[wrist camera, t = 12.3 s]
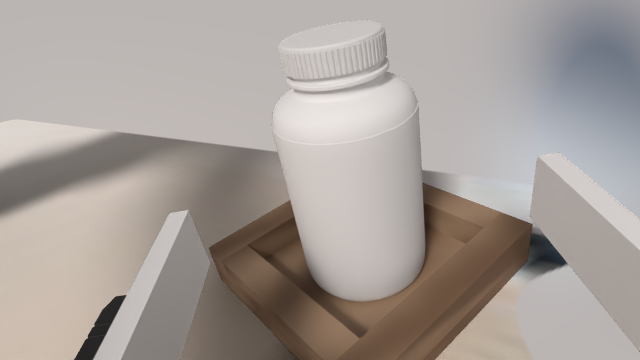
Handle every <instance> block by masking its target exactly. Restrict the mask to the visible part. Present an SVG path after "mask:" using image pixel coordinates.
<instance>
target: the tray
mask: <svg viewBox="0 0 640 360" xmlns="http://www.w3.org/2000/svg"><path fill="white" fill-rule="evenodd" d="M422 188H423V208H424V228H425V259H424V264H423V267H422V269H421V271H420V273H419V275H418V276H417V278H416V279H415V280H414V281H413V282H412V283H411V284H410V285H409V286H408V287H407V288H405V289H404V290H402V291H401V292H399V293H397V294H395V295H392V296H390V297H387V298H384V299H380V300H374V301H350V300H345V299H341V298H338V297H336V296H333V295H331V294H330V293H328V292H326V291H325V290H324V289H322V288H321V287H320V286H319V285H318V284H317V283H316V282H315V280H314V279H313V277H312V275H311V273H310V271H309V268H308V266H307V263H306V259H305V255H304V251H303V247H302V243H301V239H300V236H299V232H298V228H297V224H296V220H295V216H294V212H293V209H292V205H291V201H288V202H286V203H285V204H283V205H281V206H279V207H278V208H276V209H274V210H273V211H271V212H269V213H267V214H266V215H264V216H262V217H261V218H259V219H257V220H255V221H254V222H252V223H250V224H249V225H247V226H245V227H243V228H242V229H240V230H238V231H237V232H235V233H233V234H231V235H230V236H228V237H226V238H225V239H223V240H221V241H219V242H218V243H216V244H214V245H213V246H211V247H209V250H210V252H211V255H212V257H213V260H214V262H215V265H216V267H217V270H218V272H219V275H220V277H221V279H222V280H223V281H224V282H225V283H226V284H227V285H228V286H229V287H230V288H231V290H232V291H233V292H234V293H235V294H236V295H237V296H238V297H239V298H240V299H241V300H242V301H243V302H244V303H245V304H246V305H247V306H248V307H249V308H250V309H251V311H252V312H253V313H254V314H255V315H256V316H257V317H258V318H259V319H260V320H261V321H262V322H263V323H264V324H265V325H266V326H267V327H268V328H269V329H270V330H271V332H272V333H273V334H274V335H275V336H276V337H277V338H278V339H279V340H280V341H281V342H282V343H283V344H284V345H285V346H286V347H287V348H288V349H289V350H290V351H291V353H292V354H293V355H294V356H295V357H296V358H297V359H298V360H435V359H436V358H437V357H438V356H439V355H440V354H441V352H442V351H443V350H444V349H445V348H446V347H447V346H448V345H449V344H450V343H451V342H452V341H453V340H454V339H455V338H456V336H457V335H458V334H459V333H460V332H461V331H462V330H463V329H464V328H465V327H466V326H467V325H468V324H469V323H470V322H471V320H472V319H473V318H474V317H475V316H476V315H477V314H478V313H479V312H480V311H481V310H482V309H483V308H484V307H485V306H486V304H487V303H488V302H489V301H490V300H491V299H492V298H493V297H494V296H495V295H496V294H497V293H498V292H499V291H500V290H501V288H502V287H503V286H504V285H505V284H506V283H507V282H508V281H509V280H510V279H511V278H512V277H513V276H514V275H515V274H516V272H517V271H518V270H519V269H520V268H521V267H522V266H523V265H524V264H525V263H526V262H527V261H528V254H529V247H530V239H531V232H532V224H531V223H528V222H525V221H523V220H520V219H517V218H515V217H512V216H509V215H507V214H504V213H501V212H499V211H496V210H493V209H491V208H488V207H485V206H483V205H480V204H478V203H475V202H472V201H470V200H467V199H464V198H462V197H459V196H456V195H454V194H451V193H448V192H446V191H443V190H440V189H438V188H435V187H432V186H430V185H427V184H424V183H422Z"/></svg>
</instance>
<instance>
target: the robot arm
mask: <svg viewBox="0 0 640 360" xmlns="http://www.w3.org/2000/svg"><path fill="white" fill-rule="evenodd" d="M530 217H531V219H532V220H533V221H534V222H535V224H536V225H537V226H538V227H539V229H540V230H541V231H542V232H543V233H544V235H545V236H546V237H547V238H548V240H549V241H550V242H551V243H552V245H553V246H554V247H555V248H556V249H557V251H558V252H559V253H560V254H561V256H562V257H563V258H564V259H565V260H566V262H567V263H568V264H569V265H570V267H571V268H572V269H573V270H574V272H575V273H576V274H577V275H578V276H579V278H580V279H581V280H582V281H583V283H584V284H585V285H586V286H587V288H588V289H589V290H590V291H591V292H592V294H593V295H594V296H595V297H596V299H597V300H598V301H599V302H600V303H601V305H602V306H603V307H604V308H605V310H606V311H607V312H608V313H609V315H610V316H611V317H612V318H613V320H614V321H615V322H616V323H617V324H618V326H619V327H620V328H621V329H622V331H623V332H624V333H625V334H626V336H627V337H628V338H629V339H630V340H631V342H632V343H633V344H634V345H635V347H636V348H637V349H638V350H639V352H640V219H639V218H637V217H636V216H635V215H634V214H632V213H631V212H630V211H629V210H628V209H627V208H625V207H624V206H623V205H622V204H621V203H619V202H618V201H617V200H616V199H614V198H613V197H612V196H611V195H610V194H609V193H607V192H606V191H605V190H604V189H602V188H601V187H600V186H599V185H597V184H596V183H595V182H594V181H593V180H592V179H590V178H589V177H588V176H587V175H586V174H584V173H583V172H582V171H581V170H580V169H578V168H577V167H576V166H575V165H574V164H572V163H571V162H570V161H569V160H568V159H566V158H565V157H564V156H563V155H561V154H560V153H559V152H558V153H551V154H546V155H539V156H537V162H536V170H535V179H534V186H533V194H532V202H531V210H530ZM209 267H210V260H209V258H208V256H207V253H206V251H205V248H204V246H203V243H202V241H201V239H200V236H199V234H198V231H197V229H196V226H195V224H194V221H193V219H192V217H191V214H190V212H189V210H185V211H178V212H172V213H169V215H168V217H167V219H166V221H165V223H164V224H163V226H162V228H161V230H160V232H159V234H158V236H157V238H156V240H155V242H154V244H153V246H152V248H151V249H150V251H149V253H148V255H147V257H146V259H145V261H144V263H143V265H142V267H141V269H140V271H139V273H138V274H137V276H136V278H135V280H134V282H133V284H132V286H131V288H130V290H129V292H128V294H127V295H123V296H116V297H115V298H114V299H113V300H112V301H111V302H110V303H109V304H108V305H107V306H106V307H105V308H104V309H103V310H102V312H101V313H100V315H99V317H98V319H97V321H96V322H95V324H94V325H95V326H94V327H93V328H92V329H91V331H90V333H89V335H88V339H86V340H85V342H84V344H83V345H82V347H81V349H80V351H79V352H78V354H77V356H76V358H75V359H74V360H181V357H182V354H183V351H184V347H185V344H186V341H187V338H188V334H189V331H190V328H191V325H192V321H193V318H194V315H195V312H196V309H197V305H198V302H199V299H200V296H201V292H202V289H203V286H204V283H205V279H206V276H207V273H208V270H209Z"/></svg>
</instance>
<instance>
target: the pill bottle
mask: <svg viewBox="0 0 640 360" xmlns="http://www.w3.org/2000/svg"><path fill="white" fill-rule="evenodd" d="M278 51H279V56H280V59H281V64H282V69H283V72H284V74H285V75H286V82H287V85H288V86H289V87H291V89H289V90H288V91H287V92H286V93H284V94H283V95H282V97H281V98H280V99H279V100H278V102H277V103H276V105H275V107H274V110H273V114H272V131H273V135H274V139H275V143H276V146H277V151H278V155H279V158H280V162H281V166H282V170H283V174H284V178H285V182H286V185H287V189H288V193H289V197H290V201H291V205H292V209H293V212H294V216H295V220H296V224H297V228H298V232H299V236H300V239H301V243H302V247H303V251H304V255H305V259H306V263H307V266H308V268H309V271H310V273H311V275H312V277H313V279H314V280H315V282H316V283H317V284H318V285H319V286H320V287H321V288H322V289H324V290H325V291H326V292H328V293H330V294H331V295H333V296H336V297H338V298H341V299H345V300H350V301H374V300H380V299H384V298H387V297H390V296H392V295H395V294H397V293H399V292H401V291H402V290H404V289H405V288H407V287H408V286H409V285H410V284H411V283H412V282H413V281H414V280H415V279H416V278H417V276H418V275H419V273H420V271H421V269H422V267H423V264H424V259H425V228H424V208H423V188H422V167H421V148H420V127H419V109H418V101H417V99H416V96H415V93H414V91H413V90H412V88H411V86H410V85H409V84H408V83H407V82H406V81H405V80H403V79H402V78H401V77H399V76H397V75H395V74H393V73H390V72H387V69H388V68H389V60H388V59H387V58H386V56H387V47H386V37H385V29H384V27H383V25H382V24H381V23H379V22H376V21H349V22H342V23H335V24H329V25H325V26H320V27H316V28H312V29H308V30H305V31H302V32H299V33H296V34H294V35H291V36H289V37H287V38H285V39H284V40H283V41H281V43H280V44H279V47H278Z"/></svg>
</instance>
